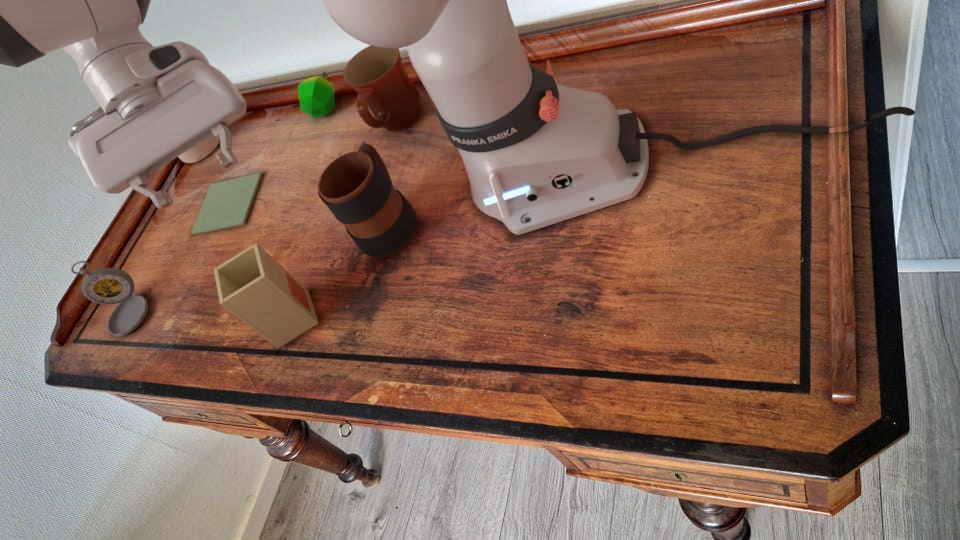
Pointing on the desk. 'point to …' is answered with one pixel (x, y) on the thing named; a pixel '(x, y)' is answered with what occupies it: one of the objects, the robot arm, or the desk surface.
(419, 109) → the mug
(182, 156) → the teacup with lid
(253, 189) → the mat
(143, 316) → the pocket watch
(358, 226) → the mug
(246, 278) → the bin
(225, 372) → the desk surface
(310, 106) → the apple
